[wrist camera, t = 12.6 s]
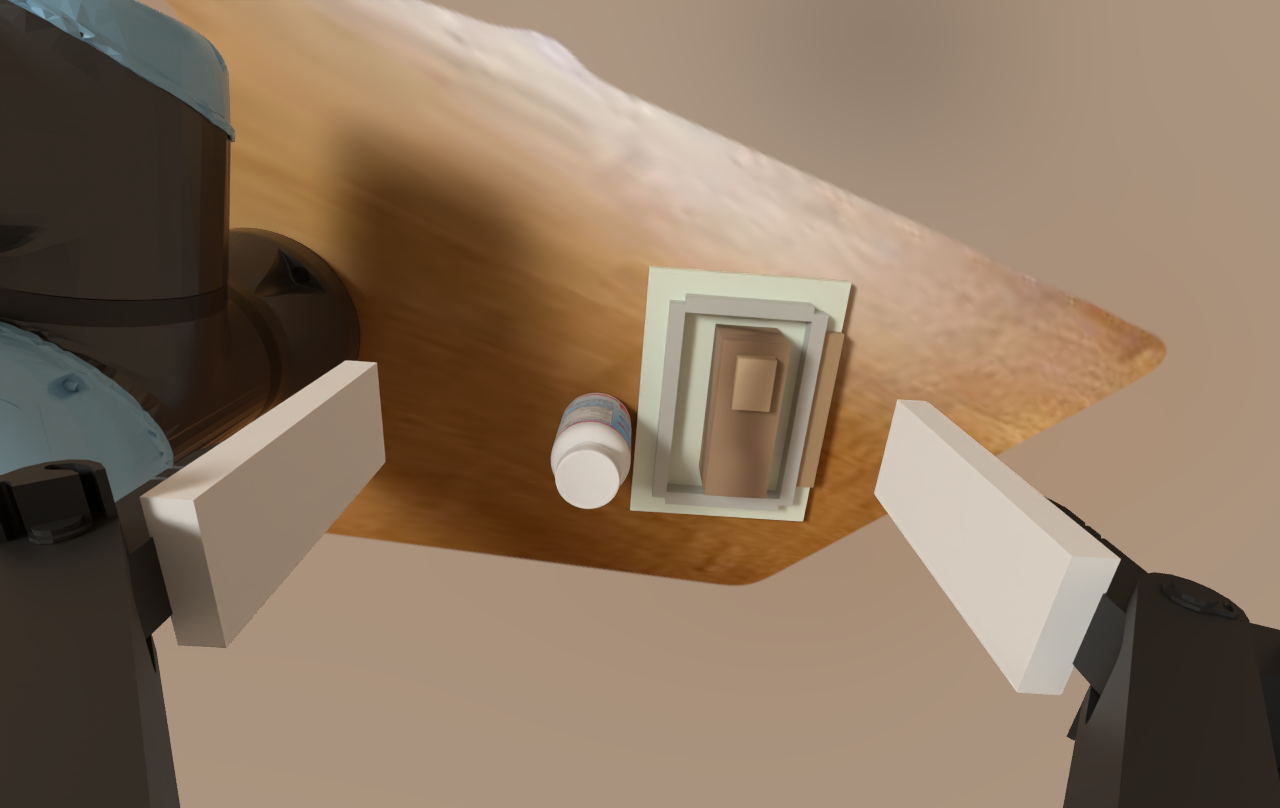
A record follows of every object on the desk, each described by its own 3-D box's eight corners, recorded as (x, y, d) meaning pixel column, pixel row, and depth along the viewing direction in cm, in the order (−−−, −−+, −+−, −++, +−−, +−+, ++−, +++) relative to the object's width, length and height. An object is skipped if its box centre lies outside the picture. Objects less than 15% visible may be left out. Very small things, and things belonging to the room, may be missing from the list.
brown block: (698, 466, 54) (705, 501, 48) (715, 323, 49) (725, 344, 43) (754, 470, 54) (767, 505, 48) (776, 327, 49) (794, 348, 43)
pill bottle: (629, 455, 54) (628, 520, 44) (561, 452, 54) (544, 516, 43) (633, 391, 52) (633, 443, 41) (562, 387, 52) (544, 439, 41)
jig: (630, 504, 56) (629, 519, 54) (649, 265, 48) (650, 270, 46) (800, 515, 57) (807, 530, 54) (847, 280, 49) (858, 286, 46)
